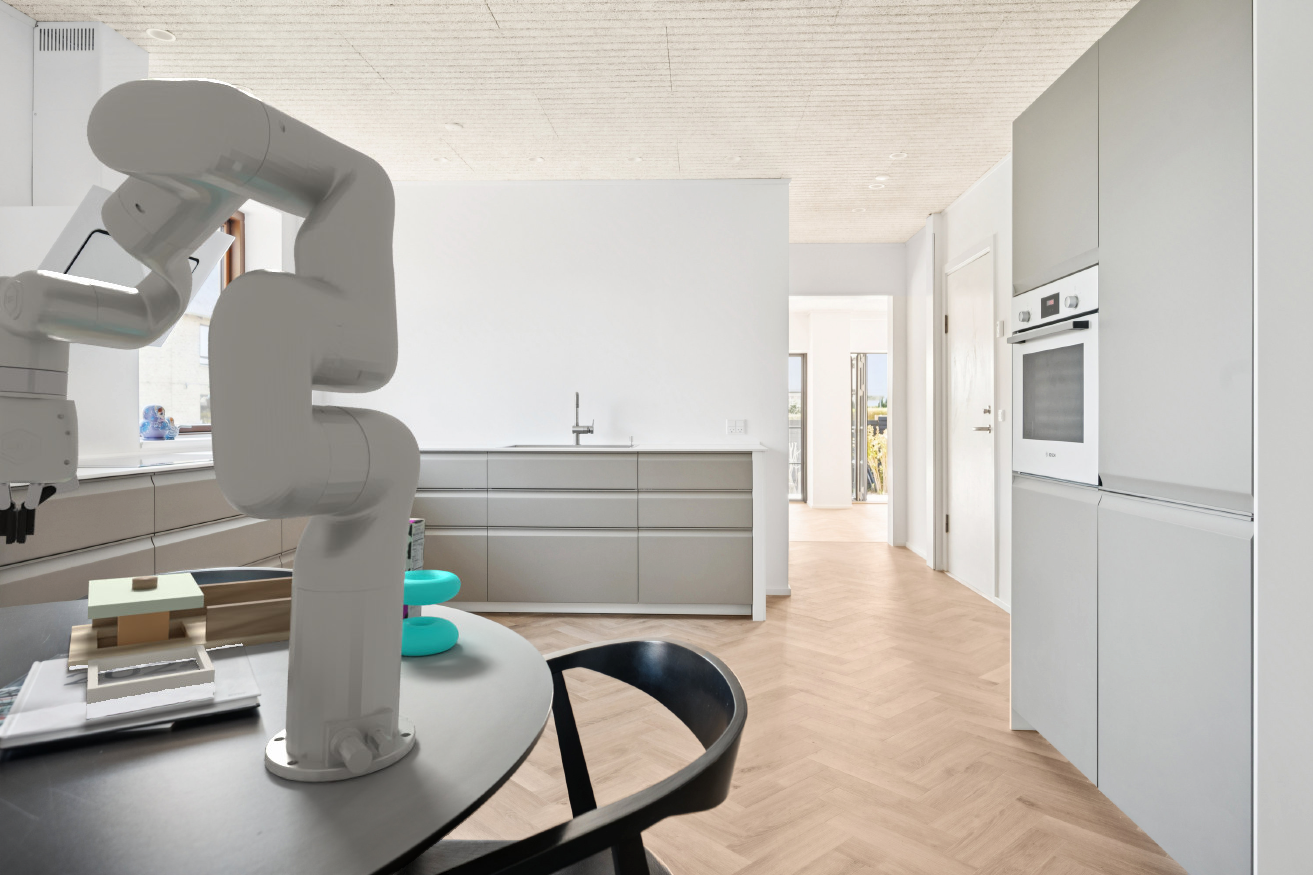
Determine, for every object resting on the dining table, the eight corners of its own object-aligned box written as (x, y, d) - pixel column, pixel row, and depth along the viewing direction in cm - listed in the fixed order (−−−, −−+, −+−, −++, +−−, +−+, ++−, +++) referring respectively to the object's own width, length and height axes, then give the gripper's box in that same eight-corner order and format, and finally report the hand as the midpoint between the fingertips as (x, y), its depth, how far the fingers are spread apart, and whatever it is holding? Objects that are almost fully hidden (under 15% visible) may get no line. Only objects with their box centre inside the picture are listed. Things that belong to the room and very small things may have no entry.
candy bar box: (336, 626, 101) (340, 517, 101) (354, 617, 106) (358, 514, 106) (407, 631, 100) (412, 521, 100) (422, 622, 105) (426, 517, 105)
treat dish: (213, 696, 73) (214, 669, 73) (86, 719, 67) (87, 689, 67) (201, 669, 81) (202, 644, 81) (87, 687, 75) (88, 659, 75)
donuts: (414, 565, 99) (474, 571, 97) (411, 633, 99) (472, 641, 97) (368, 578, 90) (433, 585, 87) (365, 653, 90) (430, 662, 87)
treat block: (168, 643, 86) (169, 604, 86) (118, 649, 83) (119, 609, 83) (164, 633, 90) (166, 596, 90) (117, 639, 87) (118, 600, 87)
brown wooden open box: (328, 644, 93) (330, 596, 93) (67, 684, 75) (69, 625, 75) (299, 616, 106) (301, 574, 106) (71, 645, 88) (73, 594, 88)
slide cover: (203, 607, 84) (204, 585, 84) (87, 619, 77) (88, 595, 77) (189, 583, 96) (190, 564, 96) (88, 591, 89) (89, 571, 89)
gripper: (-75, 378, 71) (-85, 551, 71) (107, 390, 81) (99, 543, 81) (-63, 380, 77) (-71, 541, 77) (106, 391, 86) (99, 534, 86)
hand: (16, 541), depth 79 cm, fingers closed
